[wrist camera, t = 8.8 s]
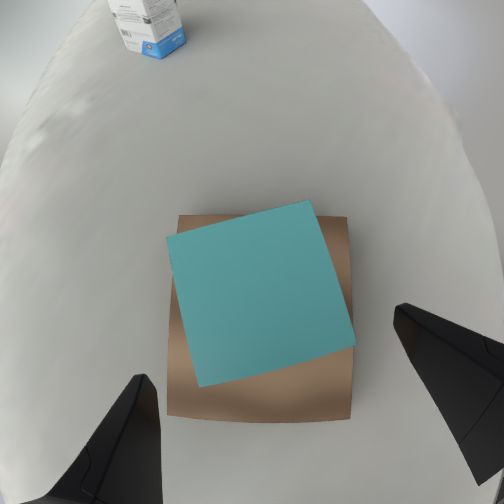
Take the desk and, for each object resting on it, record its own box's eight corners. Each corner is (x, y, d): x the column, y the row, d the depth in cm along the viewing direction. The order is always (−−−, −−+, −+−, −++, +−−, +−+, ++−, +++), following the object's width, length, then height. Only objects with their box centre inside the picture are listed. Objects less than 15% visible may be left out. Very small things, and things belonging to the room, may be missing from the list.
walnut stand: (340, 411, 19) (350, 419, 16) (177, 407, 19) (167, 415, 17) (338, 229, 23) (346, 217, 20) (187, 228, 23) (179, 215, 21)
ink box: (188, 42, 32) (167, -48, 18) (160, 60, 31) (131, -33, 16) (151, 33, 33) (127, -43, 19) (126, 50, 32) (95, -28, 18)
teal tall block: (309, 343, 18) (357, 344, 8) (232, 364, 18) (199, 387, 8) (287, 270, 19) (309, 199, 10) (213, 289, 19) (166, 236, 10)
